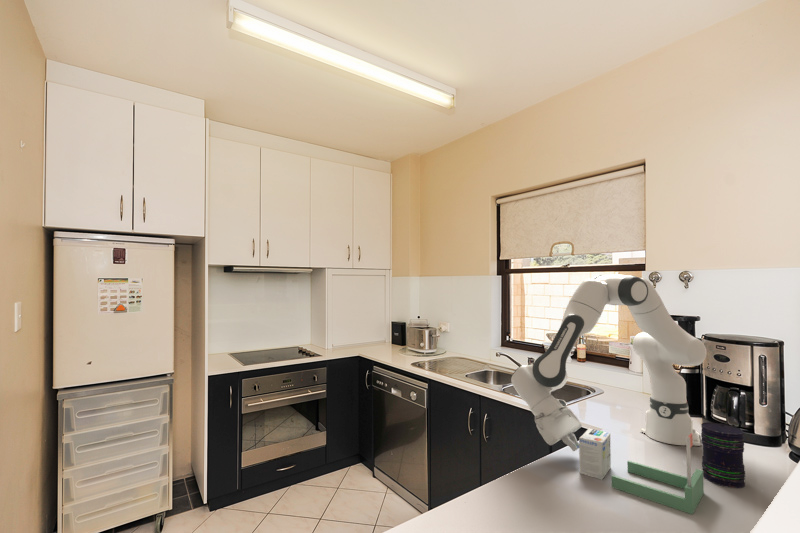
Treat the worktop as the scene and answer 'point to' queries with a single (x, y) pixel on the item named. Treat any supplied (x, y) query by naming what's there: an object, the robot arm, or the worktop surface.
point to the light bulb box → (594, 453)
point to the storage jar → (723, 455)
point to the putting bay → (690, 484)
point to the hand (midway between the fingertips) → (577, 449)
